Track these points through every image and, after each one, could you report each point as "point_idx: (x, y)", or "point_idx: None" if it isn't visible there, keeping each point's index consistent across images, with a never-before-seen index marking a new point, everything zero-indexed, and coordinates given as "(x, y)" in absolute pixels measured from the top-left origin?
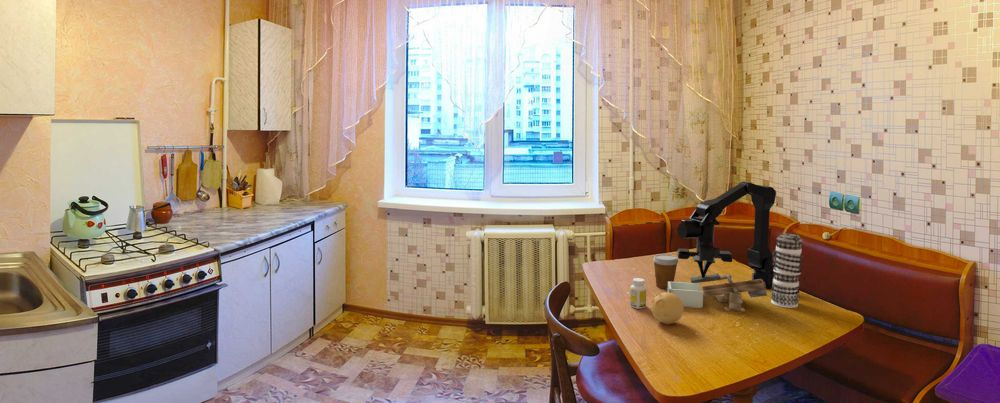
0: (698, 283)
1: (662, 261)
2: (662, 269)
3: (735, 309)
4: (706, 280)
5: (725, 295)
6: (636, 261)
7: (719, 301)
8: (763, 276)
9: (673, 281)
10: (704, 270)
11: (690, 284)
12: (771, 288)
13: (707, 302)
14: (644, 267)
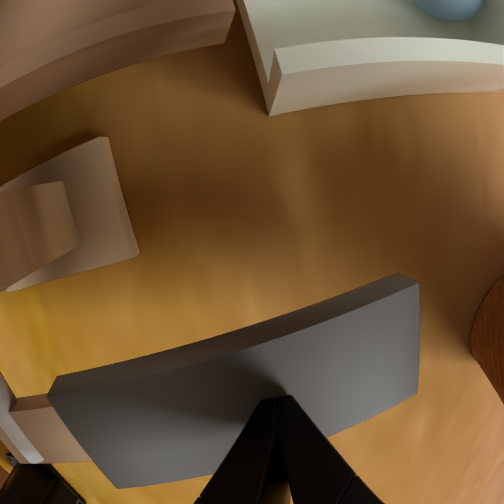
0: (309, 63)
1: None
2: None
3: None
4: (218, 339)
5: (43, 185)
6: (499, 500)
7: (102, 139)
8: (11, 495)
9: (499, 340)
10: (259, 479)
11: (410, 43)
12: (9, 454)
13: (191, 70)
14: (500, 481)
